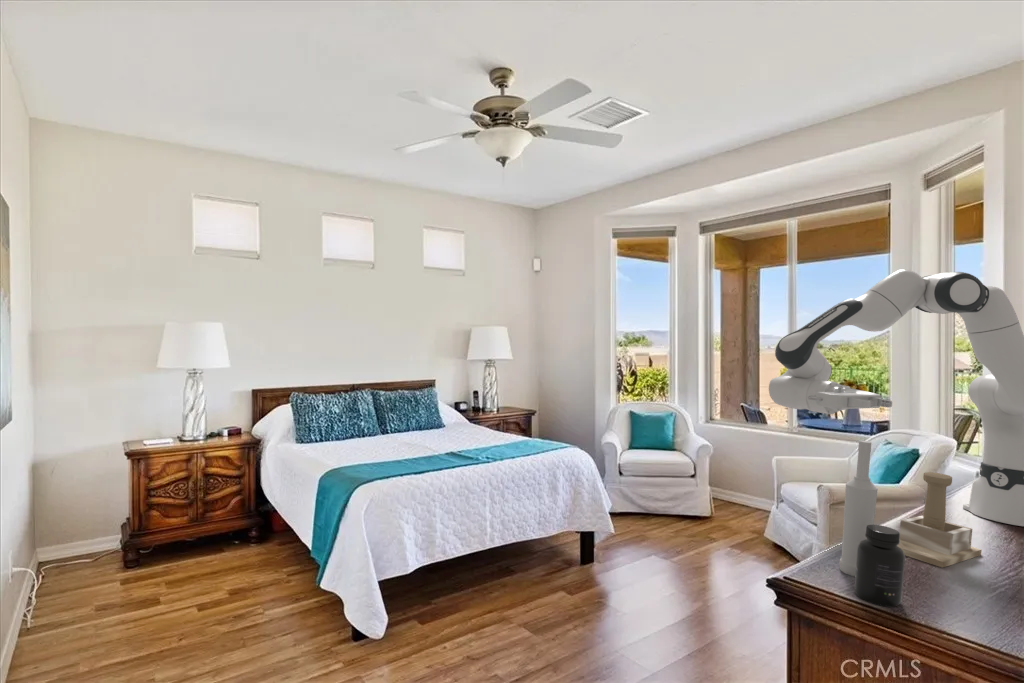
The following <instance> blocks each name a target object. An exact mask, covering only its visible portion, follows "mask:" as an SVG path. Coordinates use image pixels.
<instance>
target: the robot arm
mask: <svg viewBox="0 0 1024 683" xmlns="http://www.w3.org/2000/svg"><path fill="white" fill-rule="evenodd" d="M914 308H916V310H918V311H919V310H920V311H922V312H924V313H929V314H942V315H943V314H944V315H945V314H950V313H955V314H958V315H959V316H960V317H961V319H962V320H963V322H964V326H965V327H964V328H965V329H966V332H967V336H968V338H969V342H970V345H971V348H972V350H973V351H972V352H973V353H974V357H975V358H976V360H977V361H978V362H979V363H980V364H982V366H984V367H986V369H988V371H989V372H990V373H988V374H982V375H980V376H977V377H975V378H974V379H973V380H972V381H971V382H970V383H969V387H968V396H969V399H970V400H971V401H972V403H973V404H974V405H975V407H976V408H977V411H978V413H979V416H980V419H981V423H982V426H983V427H982V428H983V436H984V440H983V458H982V461H980V466H979V475H980V476H979V477H978V478H976V479H974V480H972V485H971V490H970V491H971V492H970V497H969V502H968V503H965V504H963V505H962V509H963V510H966V511H969V512H971V513H972V514H973V515H975V516H978V517H980V518H984V519H987V520H990V521H994V522H997V523H1003V524H1008V525H1012V526H1019V527H1024V333H1023V330H1022V326H1021V324H1020V321H1019V318H1018V316H1017V313H1016V311H1015V308H1014V307H1013V304H1012V303H1011V301H1010V299H1009V297H1008V296H1007V295H1006V293H1005V291H1003V289H1001V288H1000V287H996V286H989V285H988V286H987V285H984V283H982V281H981V280H980V279H979V278H978V277H976V276H975V275H973V274H972V273H968V272H962V271H953V272H949V271H948V272H947V271H946V272H940V273H939V272H938V273H936V274H932V275H931V274H930V275H926V276H921V275H920V274H918V273H917V272H915V271H913V270H911V269H904V268H903V269H897V270H896V271H894V272H892V273H890V274H889V275H887V276H886V277H884V278H882V279H881V280H879V281H878V282H877V283H876V284H874V285H873V286H872V287H871V288H869V289H868V290H867V291H866V292H864V293H863V294H861V295H860V296H858V297H855V298H847V299H844V300H842V301H840V302H838V303H836V304H835V305H833V306H831V307H830V308H829V309H827V310H826V311H824V312H822V314H820V315H819V316H817V317H815V318H814V319H812V320H811V321H809V322H808V323H806V324H805V325H804V326H802V327H801V328H799V329H796V330H794V331H792V332H790V333H789V334H786V335H784V336H783V338H781V339H780V340H779V342H778V343H777V345H776V348H775V350H774V356H775V357H776V360H777V361H778V362H779V363H781V365H783V367H785V369H786V371H785V372H784V373H783V374H781V375H779V376H778V377H777V376H776V377H773V378H772V379H771V380H769V383H768V393H769V396H770V398H771V400H772V401H773V402H774V403H775V404H777V405H778V406H782V407H785V408H788V409H793V410H794V409H795V410H808V411H810V412H812V413H813V412H814V413H821V414H826V415H834V414H835V413H838V412H840V411H846V410H849V409H850V410H851V409H852V410H853V409H858V410H859V409H879V408H881V407H882V408H892V407H893V401H892V400H891V399H883V398H882V396H881V394H878V393H875V392H870V391H866V390H860V389H856V388H855V389H854V388H851V387H850V386H849V385H843V384H840V383H838V382H836V381H832V380H831V381H830V378H831V376H832V373H833V372H832V371H833V369H832V366H831V364H830V362H829V360H828V359H827V358H826V357H825V356H824V354H822V353H821V351H820V350H819V349H818V345H819V343H820V342H821V341H823V340H825V339H826V338H828V337H829V336H830V335H832V334H833V333H835V332H836V331H838V330H840V329H841V328H843V327H846V326H853V327H857V328H859V329H862V330H863V331H867V332H882V331H885V330H887V329H888V328H890V327H892V326H893V325H894V324H896V323H897V322H898V321H900V319H901V318H903V317H904V316H905V315H906V314H907V313H908V312H909V311H911V310H912V309H914Z"/></svg>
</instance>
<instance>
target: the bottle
mask: <svg viewBox="0 0 1024 683" xmlns="http://www.w3.org/2000/svg"><path fill="white" fill-rule="evenodd" d="M857 448H858V449H857V450H858V451H857V452H858V453H857V454H858V455H857V464H856V474H855V475H854V476H853V478H852V479H850V480H849V481H847V482H846V483H845V493H844V494H845V495H844V509H843V526H842V527H843V528H842V530H843V531H842V542H841V543H842V544H841V557H840V559H839V562H838V563H839V570H840V571H841V572H842V573H844V574H846V575H849V576H851V577H855V575H856V563H857V551H858V544H859V543H860V542H861V541H862V540H865V539H867V538H866V537H865V533H866V527H867V525H875V517H876V516H875V515H876V507H877V499H878V498H877V497H878V487H877V486H876V485H875V484H874V483H873V482H872V481H871V478H870V474H869V473H870V462H871V452H872V441H868V440H860V439H859V441H858V447H857Z"/></svg>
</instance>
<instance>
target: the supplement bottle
mask: <svg viewBox="0 0 1024 683" xmlns="http://www.w3.org/2000/svg"><path fill="white" fill-rule="evenodd" d="M865 537H866V538H867V539H865V540H862V541H861V542H860V543H859V544H858V551H857V563H856V575H855V576H854V578H855V579H854V592H855V594H856V596H857V597H858V598H860V599H862V600H863V601H865V602H868V603H870V604H874V605H876V606H881V607H886V608H892V607H894V608H895V607H898V606H900V605H901V603H902V598H903V596H902V595H903V584H904V574H905V562H906V561H905V560H906V555H905V554H904V552H903V551H902V549H901V548H899V547H898V546H897V545H898V544H899V543H900V540H899V537H900V531H898V530H897V529H895V528H892V527H889V526H886V525H880V524H874V525H867V527H866V533H865Z"/></svg>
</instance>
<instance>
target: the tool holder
mask: <svg viewBox="0 0 1024 683" xmlns="http://www.w3.org/2000/svg"><path fill="white" fill-rule="evenodd" d="M923 515H924V514H923ZM923 515H918V516H913V517H910V518H904V519H901V520H900V524H899V533H900V537H899V540H900V543H899V544H898V545H897V546H898V547H899V548H901V549H902V551H903V552H904V554H905V557H910V558H911V559H914V560H915V559H916V560H919V561H921V562H924V563H927V564H929V565H932V566H936V567H938V568H941V569H942V568H945V567H949V566H952V565H956V564H958V563H961V562H964V561H967V560H971V559H972V558H977V557H980V556H982V550H983V549H981V548H977V547H975V546H972V536H973V528H972V527H971V528H970V527H968V526H964V525H959V524H956V523H952V522H949V521H946V520H945V527H944V531H941V530H938V529H934V528H931V527H927V526H924V525H923Z"/></svg>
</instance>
